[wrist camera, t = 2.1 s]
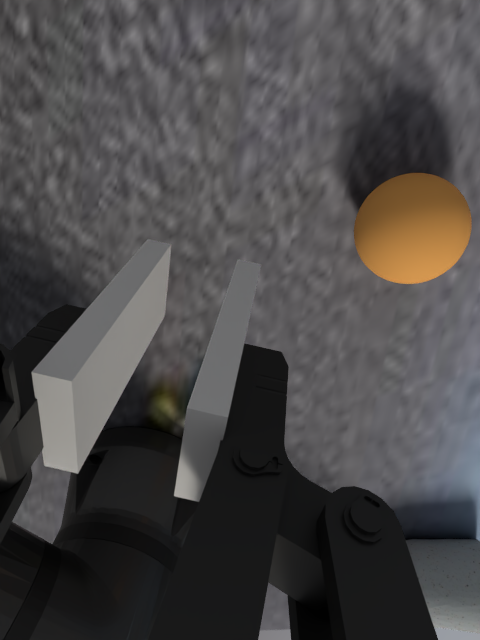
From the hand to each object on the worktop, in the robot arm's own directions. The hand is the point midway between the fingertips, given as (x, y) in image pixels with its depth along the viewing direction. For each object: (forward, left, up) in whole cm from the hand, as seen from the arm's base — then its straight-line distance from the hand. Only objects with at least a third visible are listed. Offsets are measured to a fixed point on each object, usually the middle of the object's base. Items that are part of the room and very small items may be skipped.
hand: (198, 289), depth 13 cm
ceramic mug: (+27, -34, -15) cm, 45 cm away
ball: (+10, 0, -11) cm, 15 cm away
